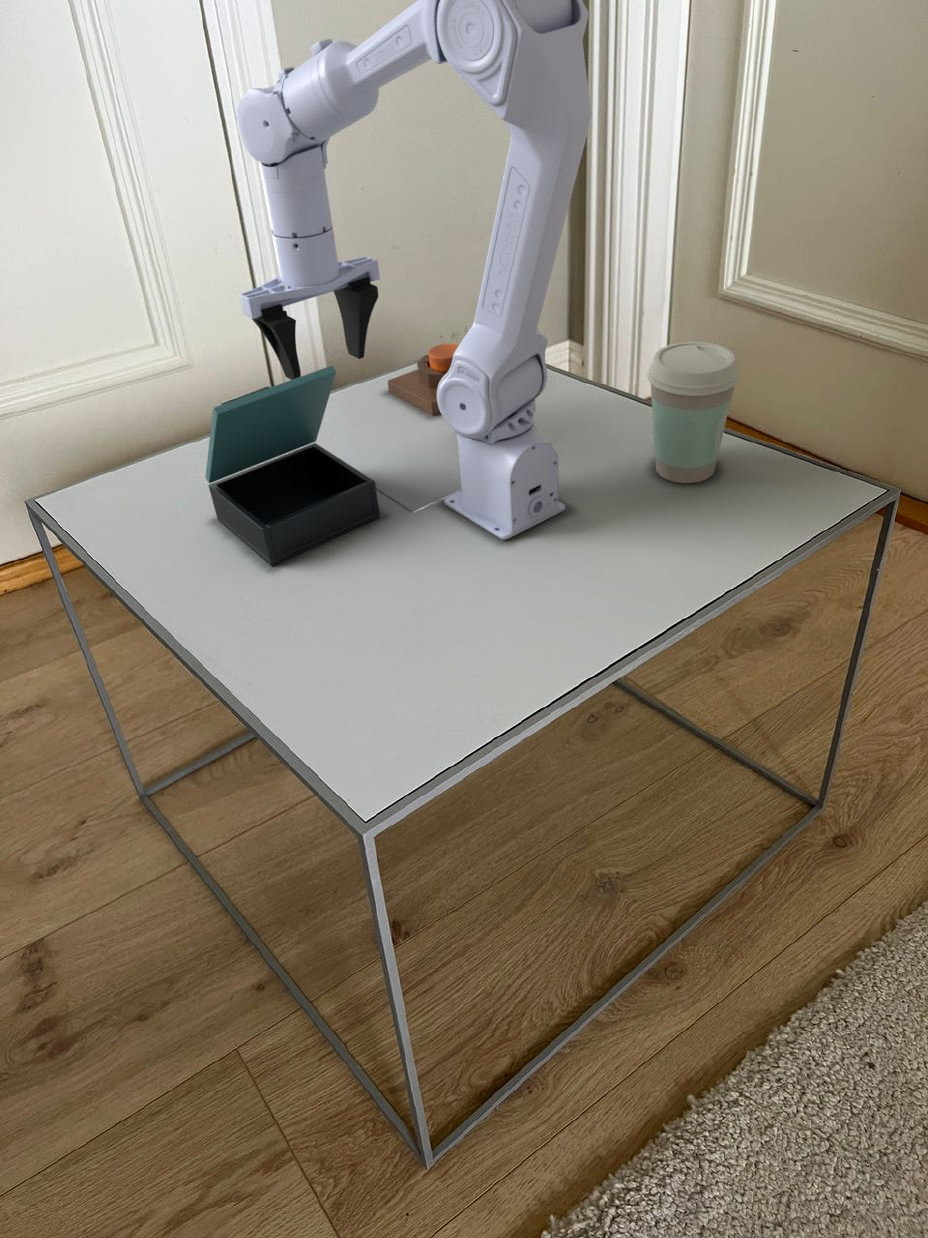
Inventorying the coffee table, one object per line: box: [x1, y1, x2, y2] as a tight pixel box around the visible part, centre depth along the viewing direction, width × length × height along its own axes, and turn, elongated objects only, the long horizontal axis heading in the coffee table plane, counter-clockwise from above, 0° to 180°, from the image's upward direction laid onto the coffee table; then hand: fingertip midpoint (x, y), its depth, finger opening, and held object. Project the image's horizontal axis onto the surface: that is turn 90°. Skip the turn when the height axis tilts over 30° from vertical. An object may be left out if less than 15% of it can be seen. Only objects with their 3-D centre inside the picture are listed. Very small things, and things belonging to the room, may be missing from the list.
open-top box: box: [208, 442, 381, 567], centre depth 93 cm, size 11×12×4 cm
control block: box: [387, 353, 449, 417], centre depth 114 cm, size 12×9×4 cm
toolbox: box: [204, 365, 337, 484], centre depth 90 cm, size 12×12×5 cm
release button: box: [428, 343, 460, 371], centre depth 113 cm, size 4×4×2 cm
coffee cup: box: [646, 341, 740, 484], centre depth 93 cm, size 9×8×12 cm
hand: (325, 366), depth 97 cm, fingers open, 7 cm apart
